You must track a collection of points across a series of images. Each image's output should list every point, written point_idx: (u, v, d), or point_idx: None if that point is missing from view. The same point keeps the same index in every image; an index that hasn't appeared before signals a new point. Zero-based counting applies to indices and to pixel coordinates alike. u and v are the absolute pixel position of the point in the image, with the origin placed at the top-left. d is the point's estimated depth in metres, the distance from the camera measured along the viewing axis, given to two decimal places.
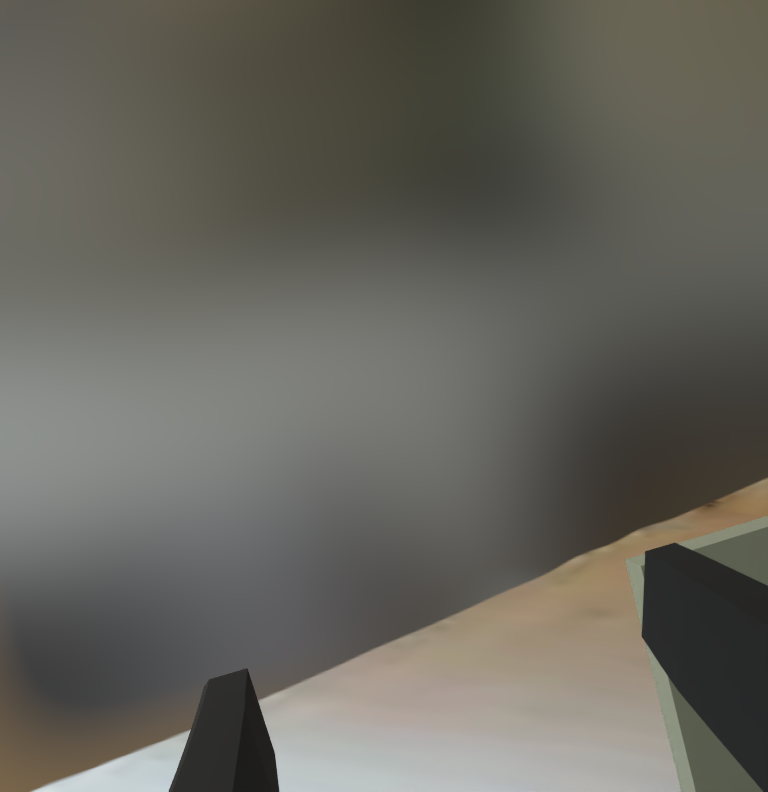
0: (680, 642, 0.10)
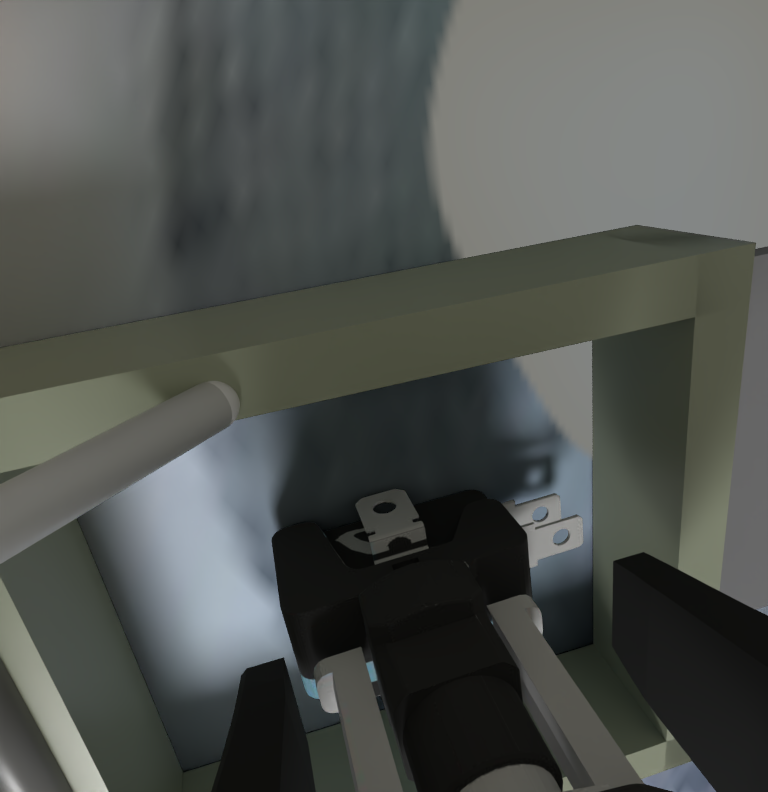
0: (647, 653, 0.10)
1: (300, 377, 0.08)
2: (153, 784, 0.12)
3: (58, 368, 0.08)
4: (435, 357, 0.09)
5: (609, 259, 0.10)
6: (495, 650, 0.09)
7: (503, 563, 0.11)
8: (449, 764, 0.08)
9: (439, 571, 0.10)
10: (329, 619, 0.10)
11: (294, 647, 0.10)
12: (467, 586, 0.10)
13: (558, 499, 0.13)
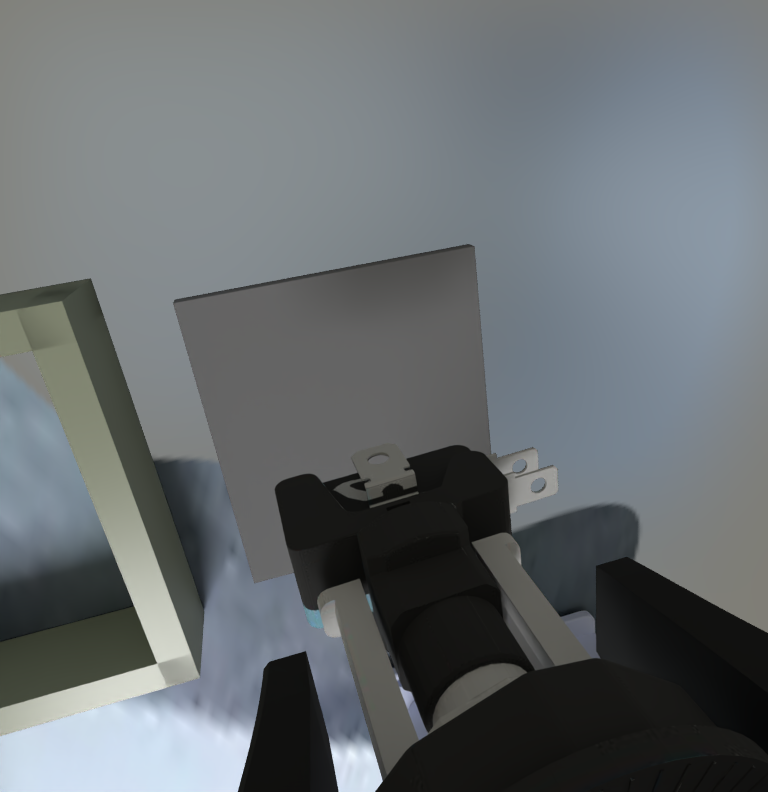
0: (630, 659, 0.10)
1: None
2: None
3: None
4: None
5: None
6: (479, 575, 0.10)
7: (486, 505, 0.12)
8: (440, 665, 0.09)
9: (429, 510, 0.11)
10: (330, 555, 0.11)
11: (298, 581, 0.12)
12: (455, 523, 0.11)
13: (536, 452, 0.15)
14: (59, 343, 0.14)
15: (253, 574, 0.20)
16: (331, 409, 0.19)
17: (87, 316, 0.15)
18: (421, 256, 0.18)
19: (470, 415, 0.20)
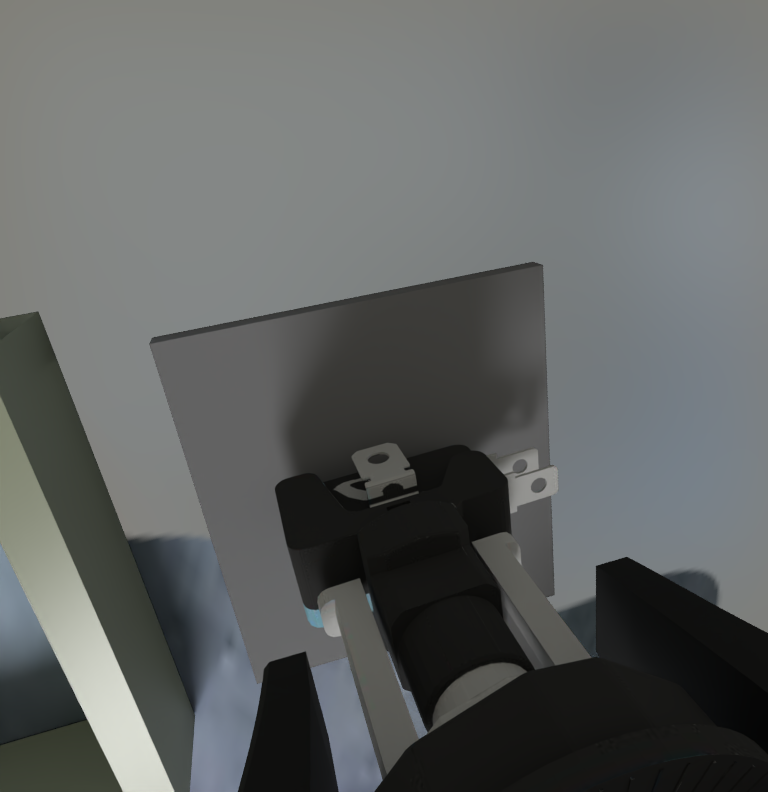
0: (630, 659, 0.10)
1: None
2: None
3: None
4: None
5: None
6: (479, 574, 0.10)
7: (486, 505, 0.12)
8: (440, 664, 0.09)
9: (429, 510, 0.11)
10: (331, 554, 0.11)
11: (299, 580, 0.12)
12: (455, 523, 0.11)
13: (536, 452, 0.15)
14: None
15: (256, 673, 0.16)
16: None
17: (29, 367, 0.11)
18: (474, 278, 0.14)
19: None
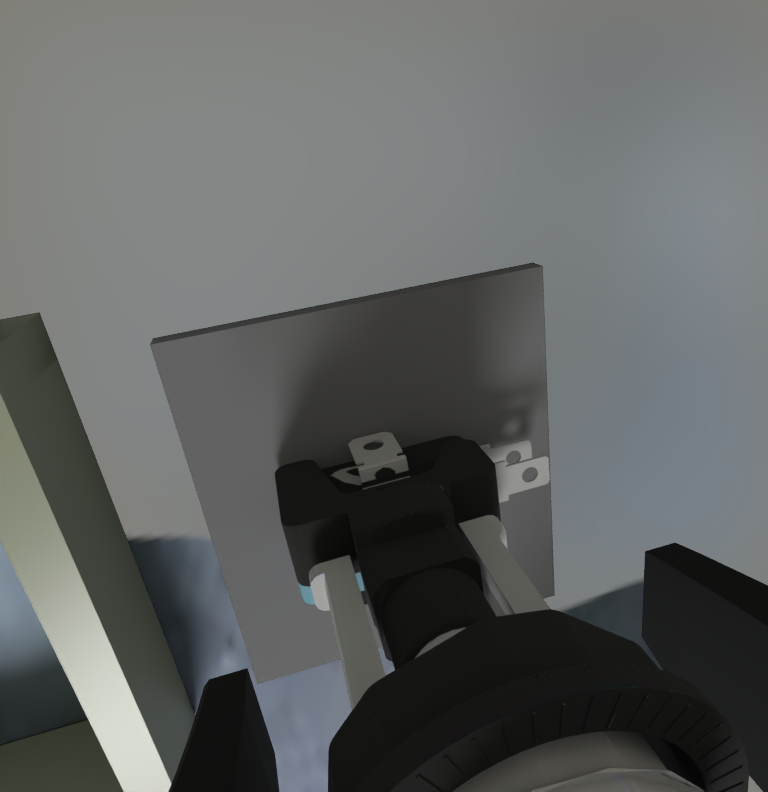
0: (680, 642, 0.10)
1: None
2: None
3: None
4: None
5: None
6: (460, 548, 0.11)
7: (474, 488, 0.12)
8: (416, 628, 0.09)
9: (416, 490, 0.12)
10: (322, 531, 0.12)
11: (292, 557, 0.12)
12: (440, 501, 0.11)
13: (530, 444, 0.15)
14: None
15: (256, 673, 0.16)
16: None
17: (30, 367, 0.11)
18: (474, 279, 0.14)
19: (528, 475, 0.16)
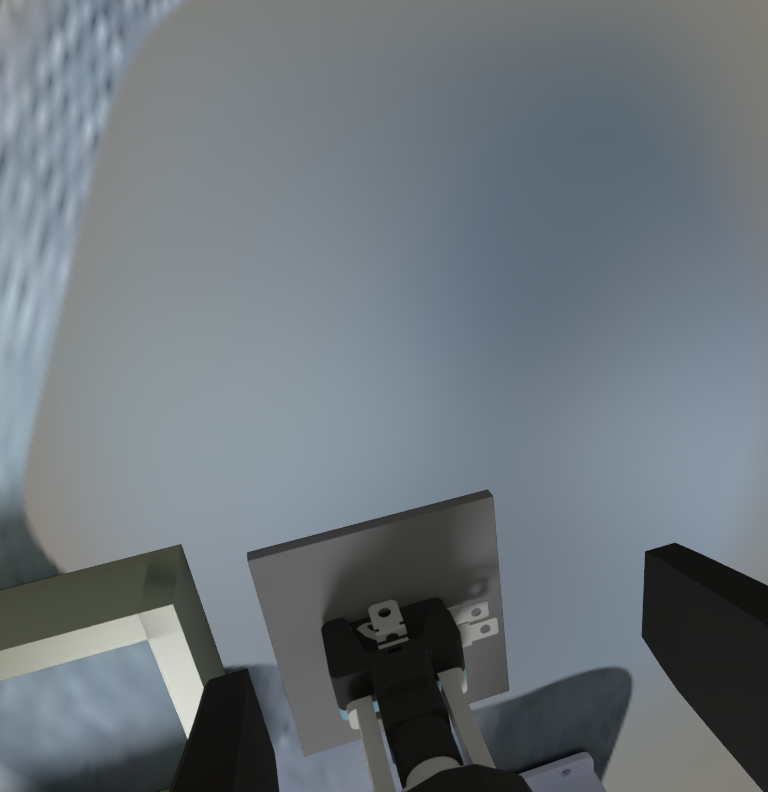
0: (680, 642, 0.10)
1: None
2: None
3: None
4: None
5: (105, 605, 0.18)
6: (436, 701, 0.18)
7: (447, 650, 0.20)
8: (410, 756, 0.17)
9: (411, 657, 0.19)
10: (354, 680, 0.20)
11: (335, 694, 0.20)
12: (425, 666, 0.19)
13: (487, 603, 0.23)
14: (168, 632, 0.17)
15: (304, 749, 0.24)
16: None
17: (183, 589, 0.19)
18: (449, 507, 0.21)
19: (488, 617, 0.24)
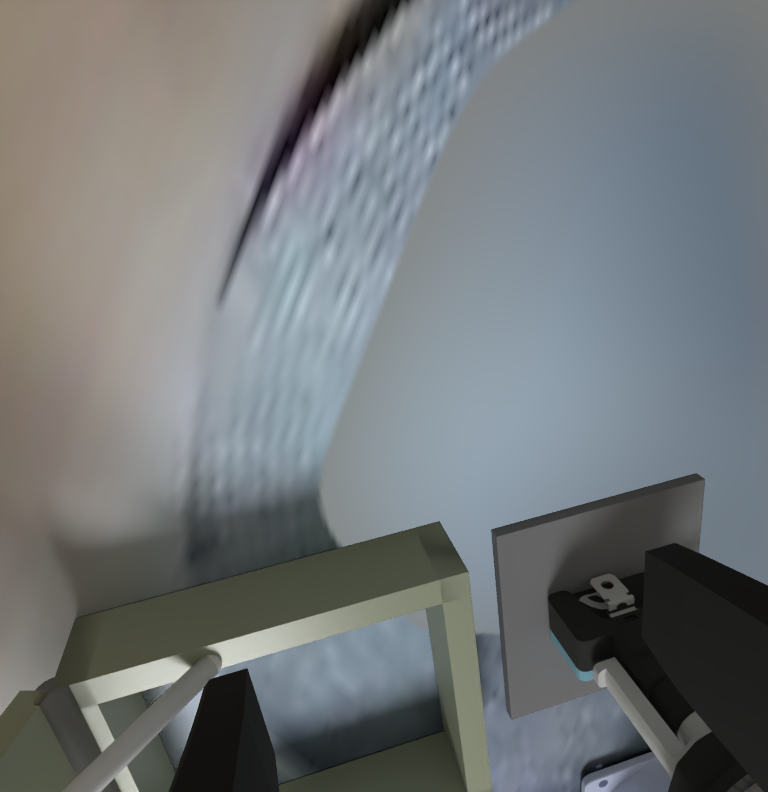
0: (680, 642, 0.10)
1: (249, 648, 0.18)
2: None
3: (139, 644, 0.18)
4: (312, 634, 0.19)
5: (402, 573, 0.20)
6: None
7: None
8: (681, 706, 0.19)
9: None
10: (598, 643, 0.22)
11: (579, 656, 0.22)
12: None
13: None
14: (460, 597, 0.20)
15: (511, 713, 0.26)
16: None
17: None
18: (667, 489, 0.23)
19: None
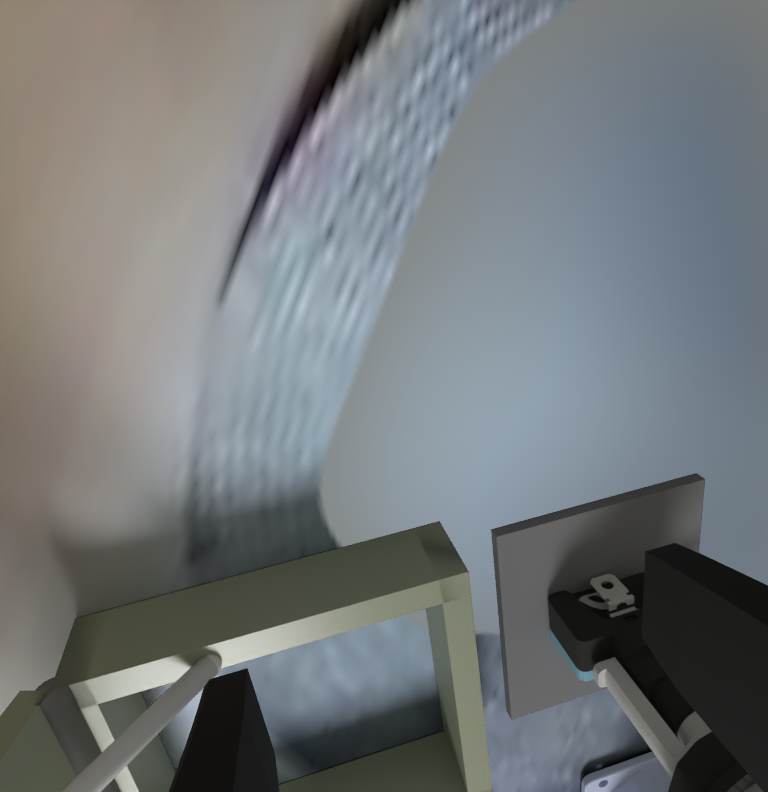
0: (680, 642, 0.10)
1: (249, 648, 0.18)
2: None
3: (139, 644, 0.18)
4: (312, 634, 0.19)
5: (402, 573, 0.20)
6: None
7: None
8: (681, 706, 0.19)
9: None
10: (598, 643, 0.22)
11: (579, 656, 0.22)
12: None
13: None
14: (460, 597, 0.20)
15: (511, 713, 0.26)
16: None
17: None
18: (667, 489, 0.23)
19: None
